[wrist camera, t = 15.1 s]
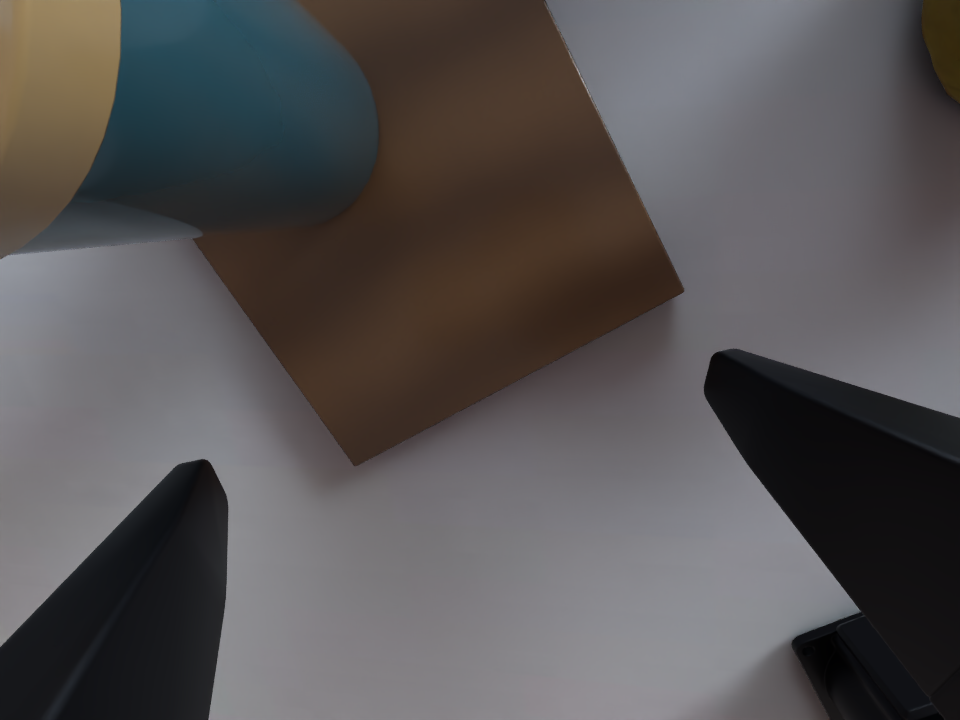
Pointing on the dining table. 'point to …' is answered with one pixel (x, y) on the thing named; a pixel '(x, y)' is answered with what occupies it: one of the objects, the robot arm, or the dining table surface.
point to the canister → (174, 121)
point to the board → (452, 226)
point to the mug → (943, 41)
